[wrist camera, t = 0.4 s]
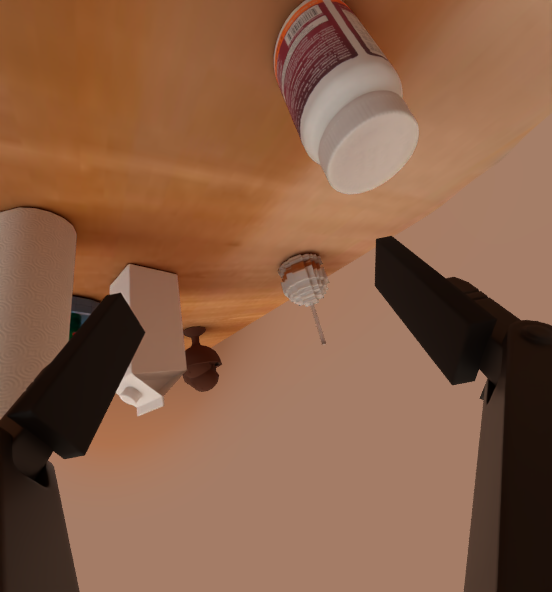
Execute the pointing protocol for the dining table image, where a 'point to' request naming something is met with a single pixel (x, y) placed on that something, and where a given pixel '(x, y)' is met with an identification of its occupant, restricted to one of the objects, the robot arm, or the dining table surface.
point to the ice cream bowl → (200, 362)
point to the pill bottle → (343, 97)
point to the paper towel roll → (33, 295)
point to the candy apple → (305, 282)
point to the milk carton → (152, 336)
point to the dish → (83, 307)
